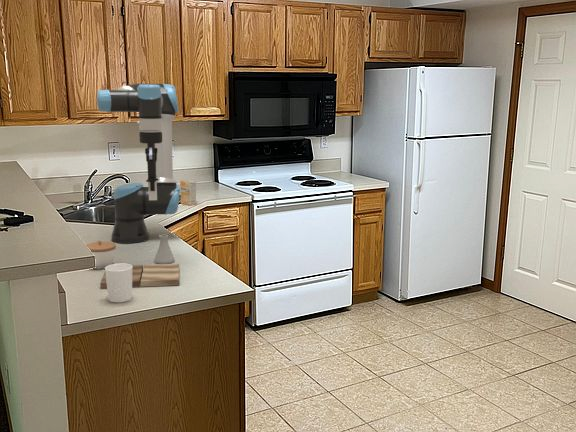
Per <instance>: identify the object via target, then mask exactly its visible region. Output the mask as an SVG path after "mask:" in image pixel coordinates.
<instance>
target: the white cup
mask: <svg viewBox="0 0 576 432" xmlns="http://www.w3.org/2000/svg"><path fill="white" fill-rule="evenodd" d="M132 265H133V264H129V263H126V262H125V263H123V262H121V263H120V262H119V263H118V262H117V263H112V264H111V265H108V266H106V267H105V268H104V273H105V274H106V283H107V289H106V290H107V293H108V294H107V296H108V301H109V302H111V303H127V302H129V301H130V300H132V298H133V293H132V292H133V288H132Z"/></svg>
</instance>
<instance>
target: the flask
mask: <svg viewBox="0 0 576 432" xmlns="http://www.w3.org/2000/svg"><path fill="white" fill-rule="evenodd" d="M158 238H159V245H158V249H157V251H156V254H155V257H154V260H153V262H154V263H156V264H173V263H174V262H175V261H176V260H175V258H174V255H173V253H172V250H171V247H170V245H169V235H168V234H166V233H164V234H159V235H158Z"/></svg>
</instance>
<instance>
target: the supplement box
mask: <svg viewBox="0 0 576 432" xmlns="http://www.w3.org/2000/svg"><path fill="white" fill-rule="evenodd" d="M179 181H180V186H179V187H180V204H181V205H186V206H190V207H191V206H195V205H197V182H196V181H194V180H189V179H183V180H179Z"/></svg>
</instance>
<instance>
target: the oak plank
mask: <svg viewBox="0 0 576 432" xmlns="http://www.w3.org/2000/svg"><path fill="white" fill-rule="evenodd" d="M160 286H161V287H165V286H166V287H167V286H180V263H167V264H159V263H156V264H144V265H143V273H142V277H141V283H140V287H160Z"/></svg>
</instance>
